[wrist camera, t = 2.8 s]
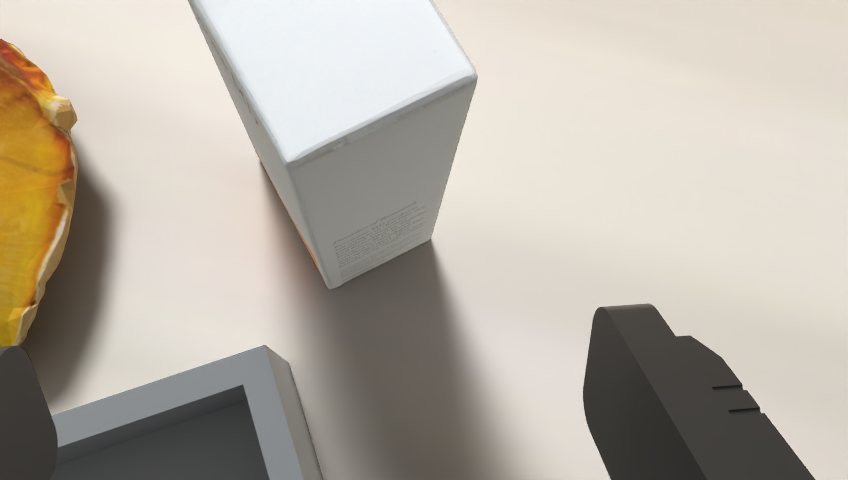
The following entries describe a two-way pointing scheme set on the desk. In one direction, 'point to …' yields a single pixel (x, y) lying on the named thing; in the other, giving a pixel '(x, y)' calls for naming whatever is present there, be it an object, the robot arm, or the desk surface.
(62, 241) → the seashell
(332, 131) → the skincare box
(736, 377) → the robot arm
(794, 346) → the desk surface
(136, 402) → the box
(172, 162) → the desk surface
